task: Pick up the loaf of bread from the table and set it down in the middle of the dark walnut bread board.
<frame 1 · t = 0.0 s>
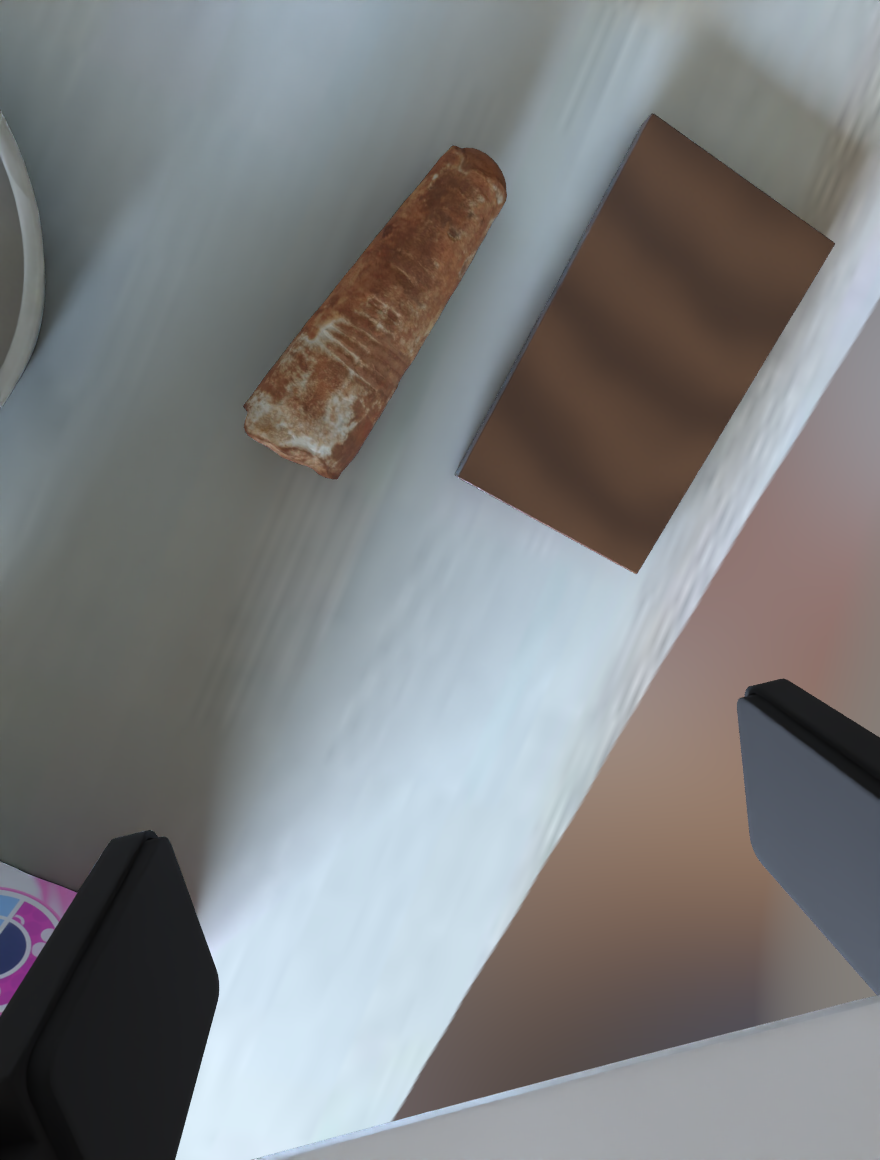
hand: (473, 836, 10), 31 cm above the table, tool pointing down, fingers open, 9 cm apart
gum box: (12, 914, 44), on the table
bread board: (634, 364, 40), on the table
bread: (374, 312, 38), on the table
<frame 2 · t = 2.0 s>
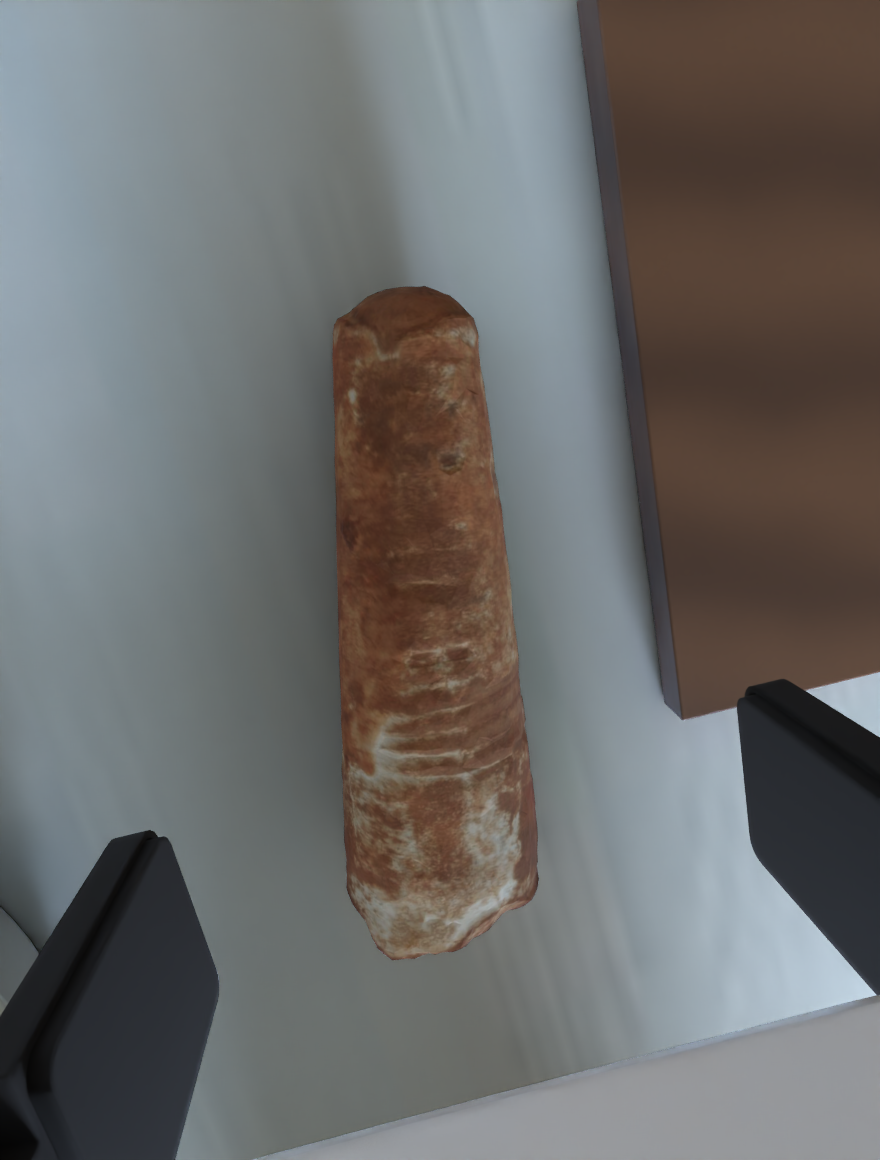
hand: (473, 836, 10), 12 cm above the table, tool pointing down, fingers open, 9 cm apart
bread board: (814, 359, 22), on the table
bread: (402, 601, 22), on the table
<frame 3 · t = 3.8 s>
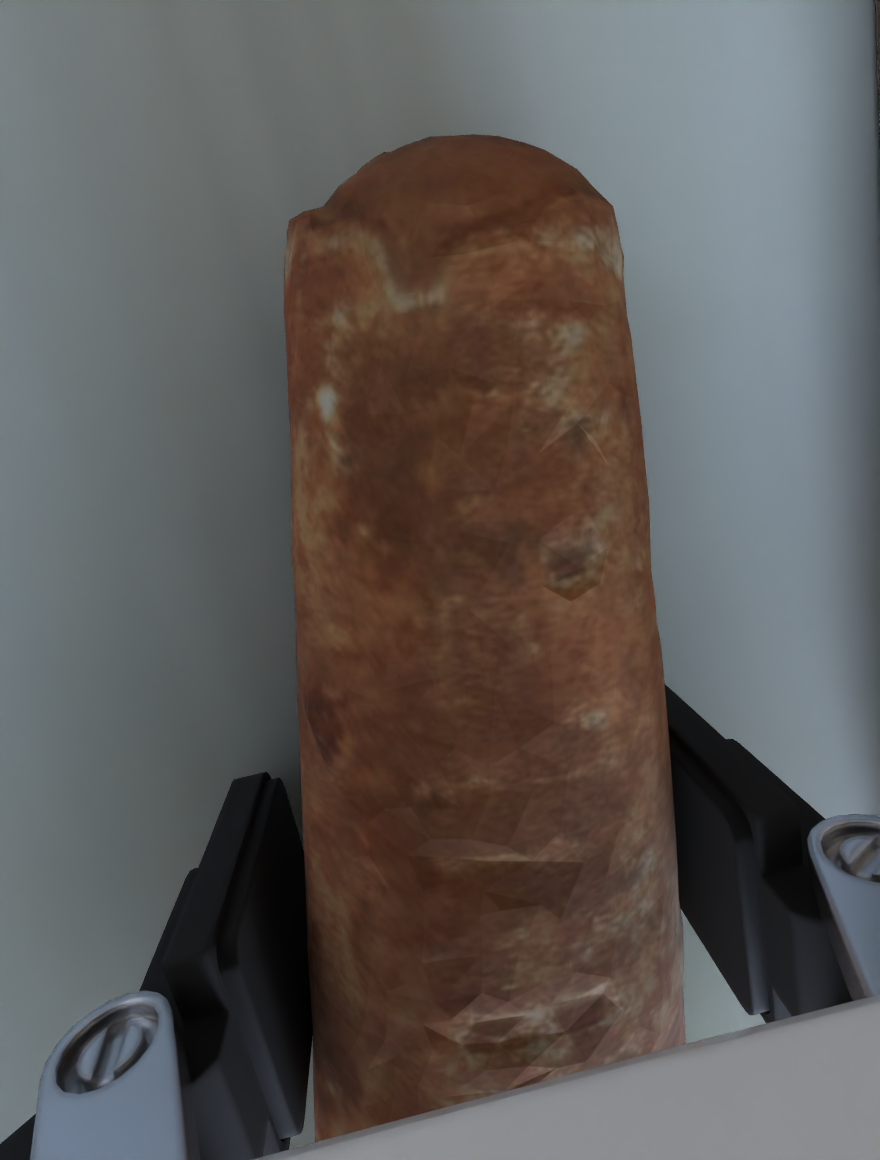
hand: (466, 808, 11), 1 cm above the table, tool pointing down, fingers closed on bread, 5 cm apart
bread: (435, 782, 12), on the table, touching gripper
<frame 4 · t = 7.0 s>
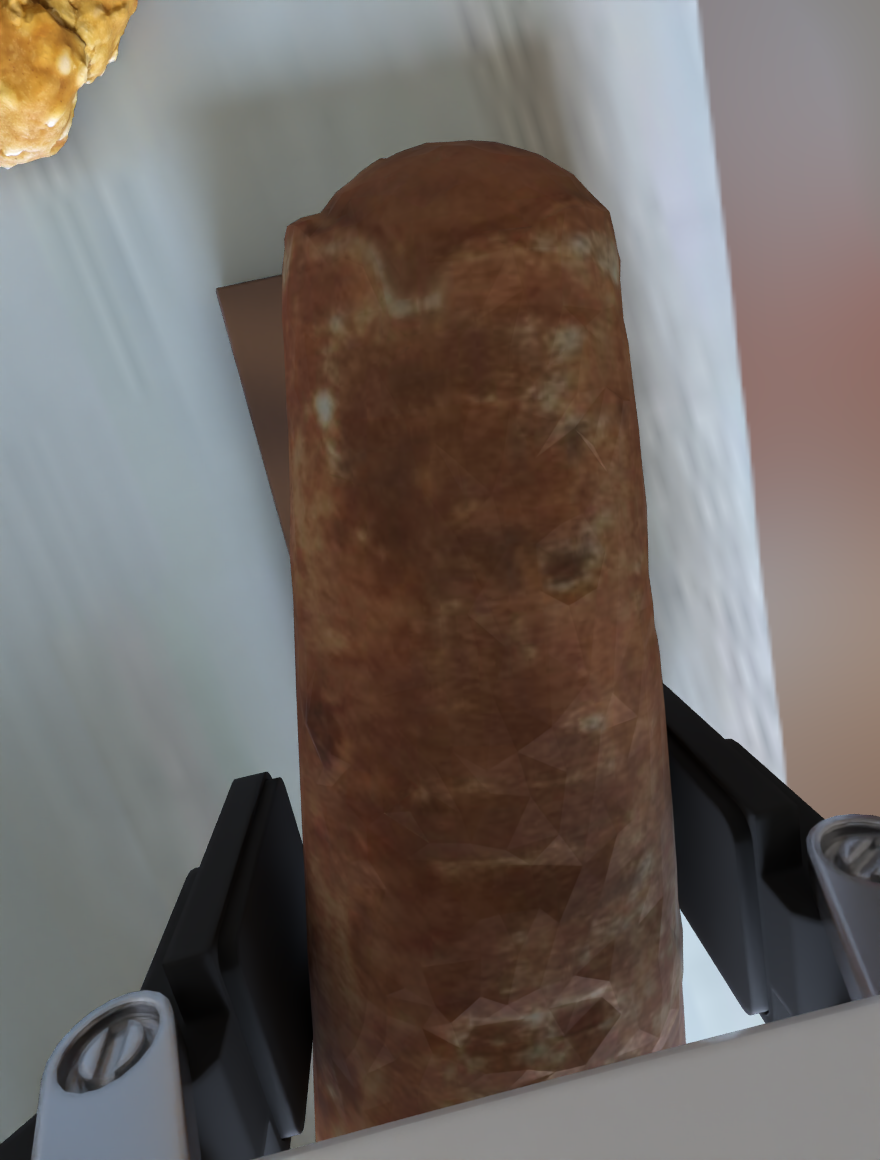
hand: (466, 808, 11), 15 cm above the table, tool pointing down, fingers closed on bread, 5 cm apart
bread board: (468, 556, 26), on the table
bread: (435, 785, 12), point 14 cm above the table, touching gripper
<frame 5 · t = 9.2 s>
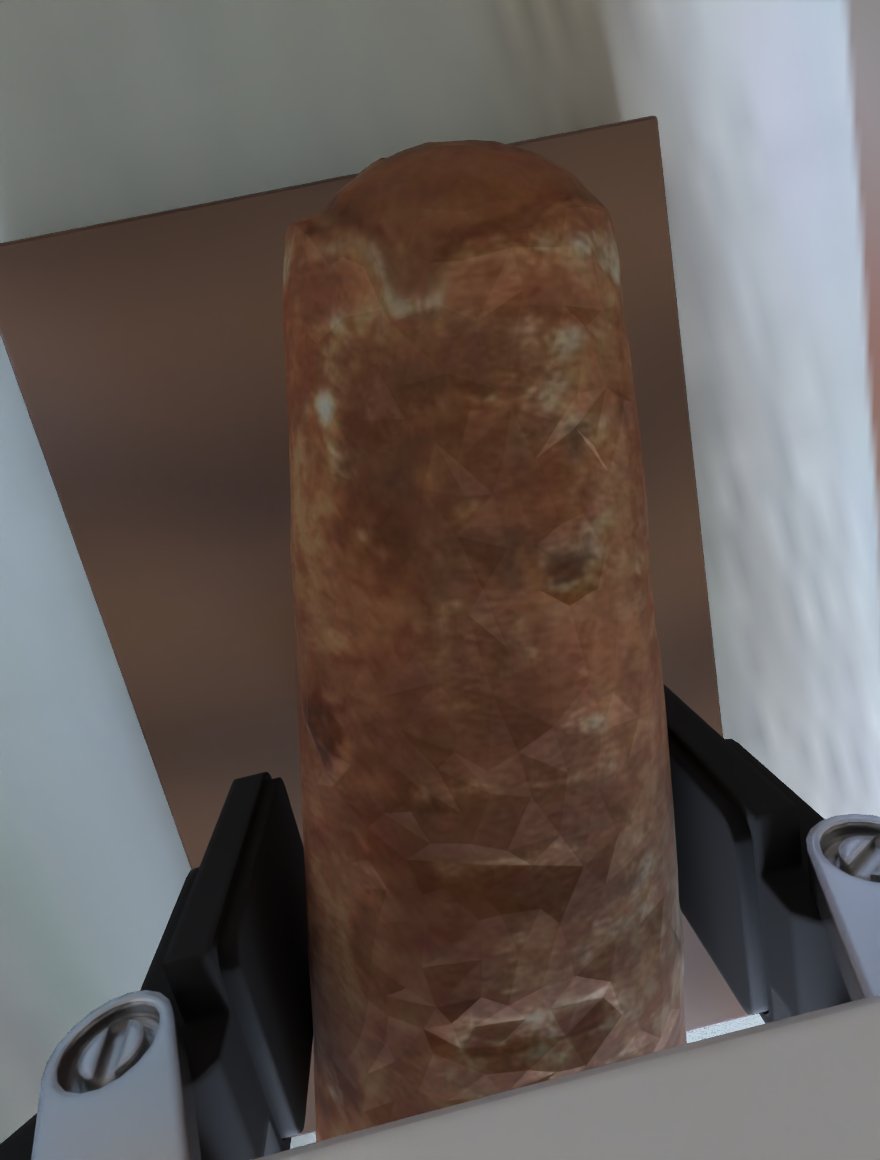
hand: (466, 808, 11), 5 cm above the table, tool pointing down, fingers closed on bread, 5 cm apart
bread board: (435, 685, 16), on the table
bread: (435, 785, 12), point 4 cm above the table, touching gripper
when the fingers open (2 cm above the table, at t = 10.5 s): bread stays where it is, resting on bread board.
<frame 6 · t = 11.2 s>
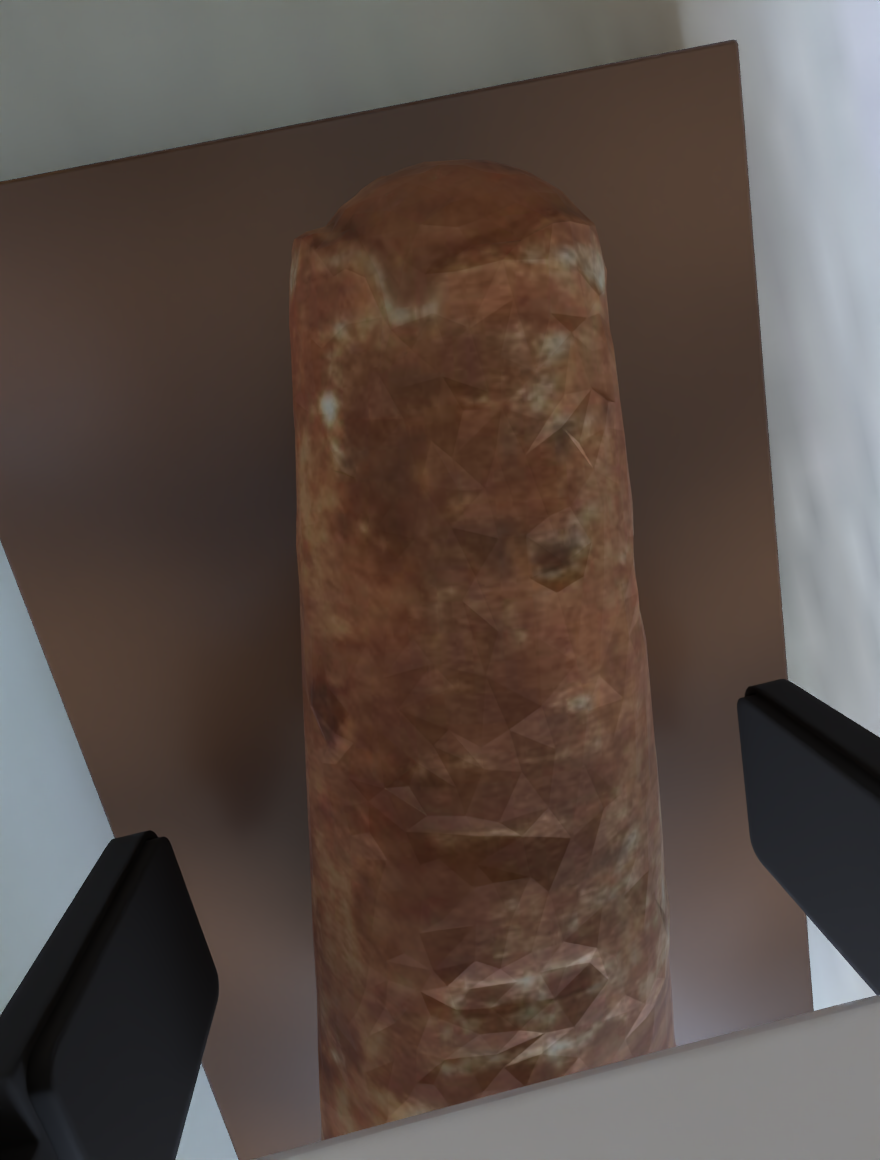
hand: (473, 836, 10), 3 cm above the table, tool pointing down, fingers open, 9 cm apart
bread board: (453, 736, 14), on the table
bread: (434, 771, 12), point 1 cm above the table, touching bread board
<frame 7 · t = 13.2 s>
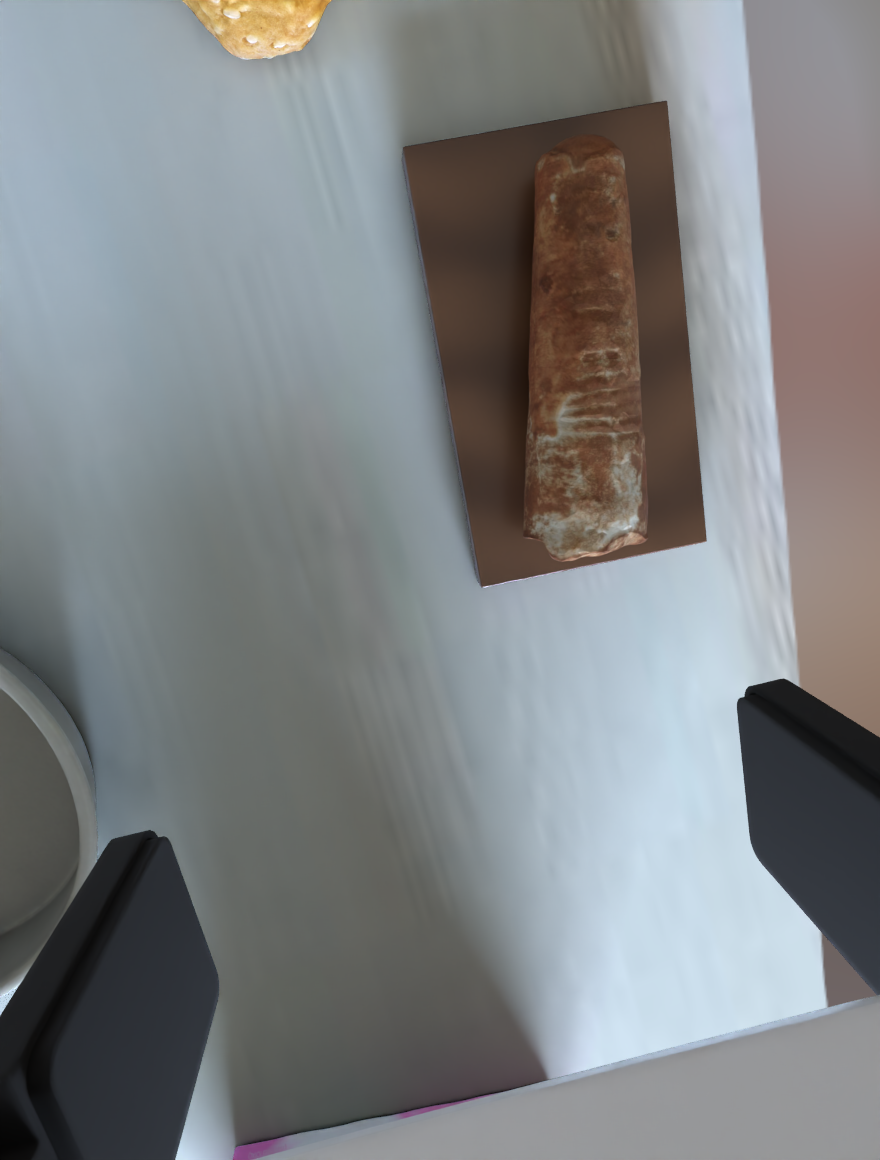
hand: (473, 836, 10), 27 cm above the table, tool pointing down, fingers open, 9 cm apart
gum box: (403, 1149, 47), on the table
bread board: (560, 363, 35), on the table
bread: (557, 362, 34), point 1 cm above the table, touching bread board
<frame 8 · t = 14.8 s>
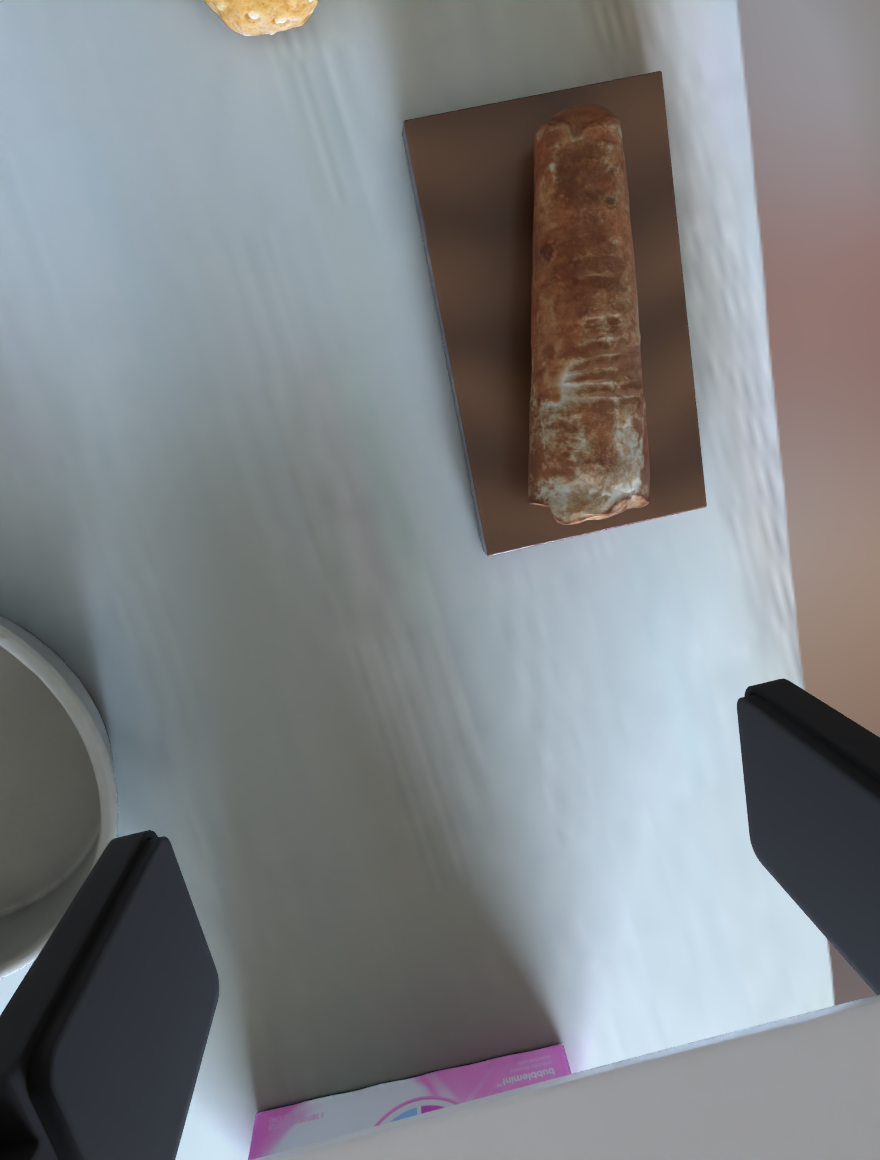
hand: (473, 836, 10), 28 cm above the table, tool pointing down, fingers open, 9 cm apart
gum box: (419, 1111, 48), on the table
bread board: (560, 334, 36), on the table
bread: (558, 332, 35), point 1 cm above the table, touching bread board
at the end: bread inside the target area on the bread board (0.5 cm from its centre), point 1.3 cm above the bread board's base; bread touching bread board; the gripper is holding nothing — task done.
